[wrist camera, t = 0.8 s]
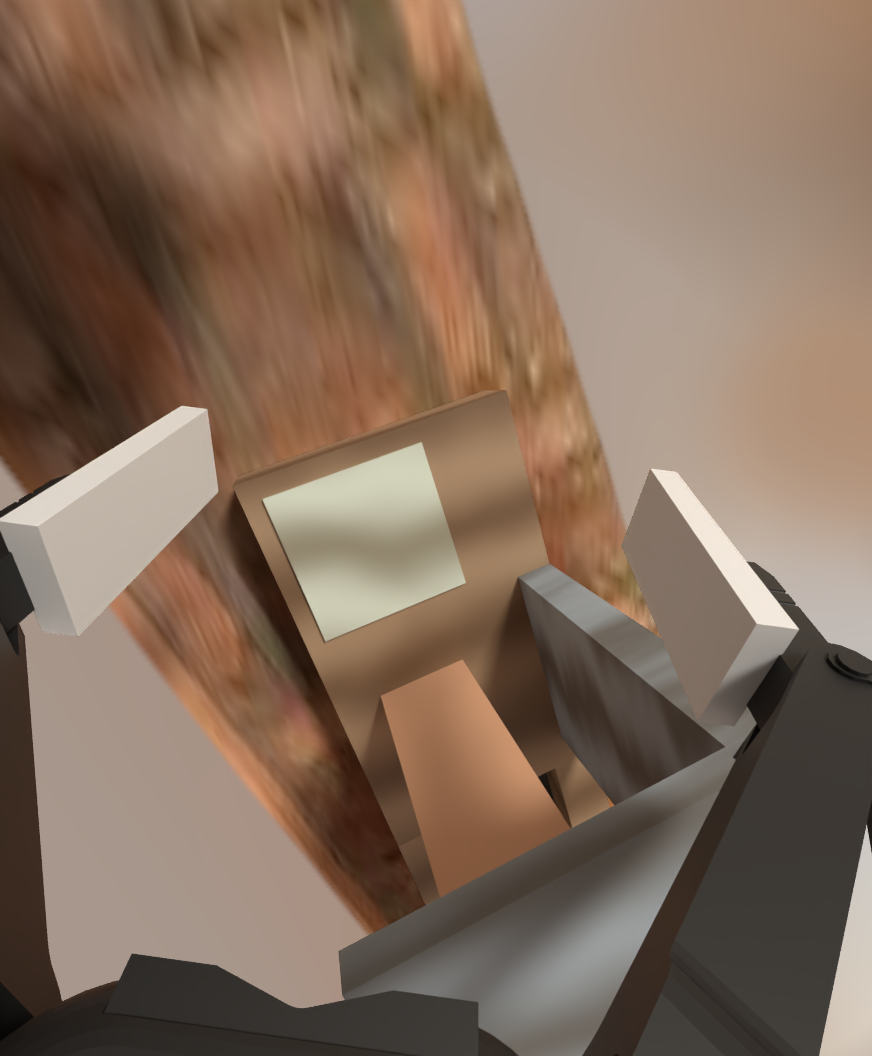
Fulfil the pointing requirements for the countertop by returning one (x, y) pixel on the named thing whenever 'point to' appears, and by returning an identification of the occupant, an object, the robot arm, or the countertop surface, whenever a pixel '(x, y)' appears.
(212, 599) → the countertop surface
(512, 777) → the orange block
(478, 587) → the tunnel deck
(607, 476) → the countertop surface
